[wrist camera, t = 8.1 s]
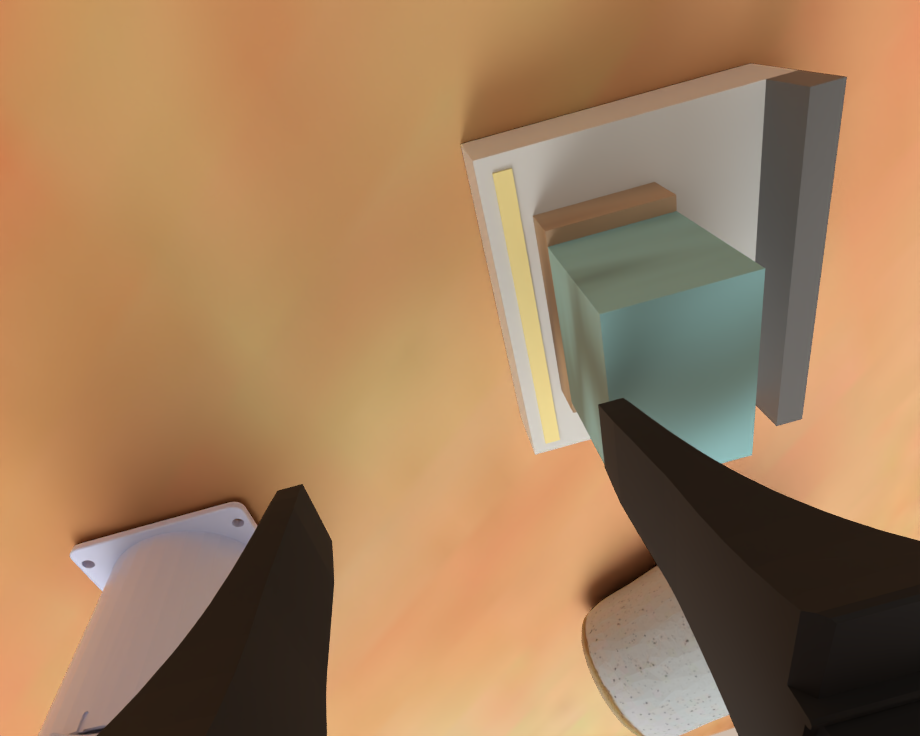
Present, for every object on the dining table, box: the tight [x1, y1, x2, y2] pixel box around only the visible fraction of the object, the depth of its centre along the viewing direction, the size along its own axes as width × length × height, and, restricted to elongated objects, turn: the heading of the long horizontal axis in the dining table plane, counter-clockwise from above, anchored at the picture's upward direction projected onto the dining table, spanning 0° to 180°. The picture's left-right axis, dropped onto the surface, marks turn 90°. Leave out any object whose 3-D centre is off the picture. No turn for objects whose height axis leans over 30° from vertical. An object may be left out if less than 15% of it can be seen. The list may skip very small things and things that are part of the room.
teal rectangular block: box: [533, 182, 765, 463], centre depth 17 cm, size 7×4×6 cm, turn 13°
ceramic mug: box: [582, 565, 729, 736], centre depth 31 cm, size 11×8×8 cm
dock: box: [461, 63, 847, 454], centre depth 20 cm, size 12×10×4 cm
